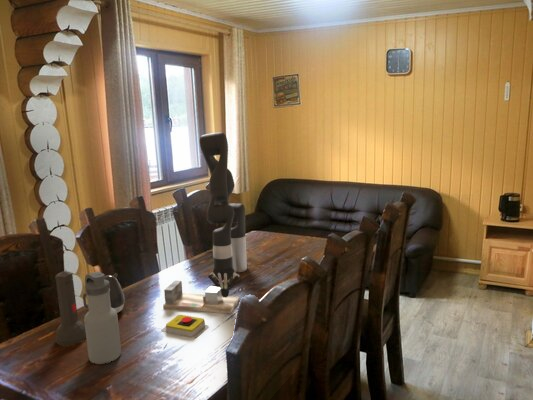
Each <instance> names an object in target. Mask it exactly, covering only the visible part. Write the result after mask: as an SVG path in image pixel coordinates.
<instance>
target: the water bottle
mask: <svg viewBox="0 0 533 400" xmlns="http://www.w3.org/2000/svg"><path fill="white" fill-rule="evenodd" d="M105 276H106V274H105V273H102V272H100V271H94V272H91V273H87V274H86V275H85V277H84V288H85V292H83V294H82V303H83V306H84V308H87V309H88V311H87V312H86V314H85V315H84V318H83V320H84V321H83V323H84V325H85V331H86V339H85V340H86V347H87V353H88V360H89V361H90V362H91V363H92V364H94V363H95V364H96V365H104V364H105V363H106V364H109V363H112V362H114V361H116V360H117V359H118V358H119V357H120V356H121V353H122V348H121V346H122V345H121V339H120V328H119V320H118V317H119V316H118V313H117V312H116V310H115V309H114V308H112V307H111V303H110V293H109V292H110V285H109V281H108V280H105ZM86 298H87V301H86ZM111 361H112V362H111Z"/></svg>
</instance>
